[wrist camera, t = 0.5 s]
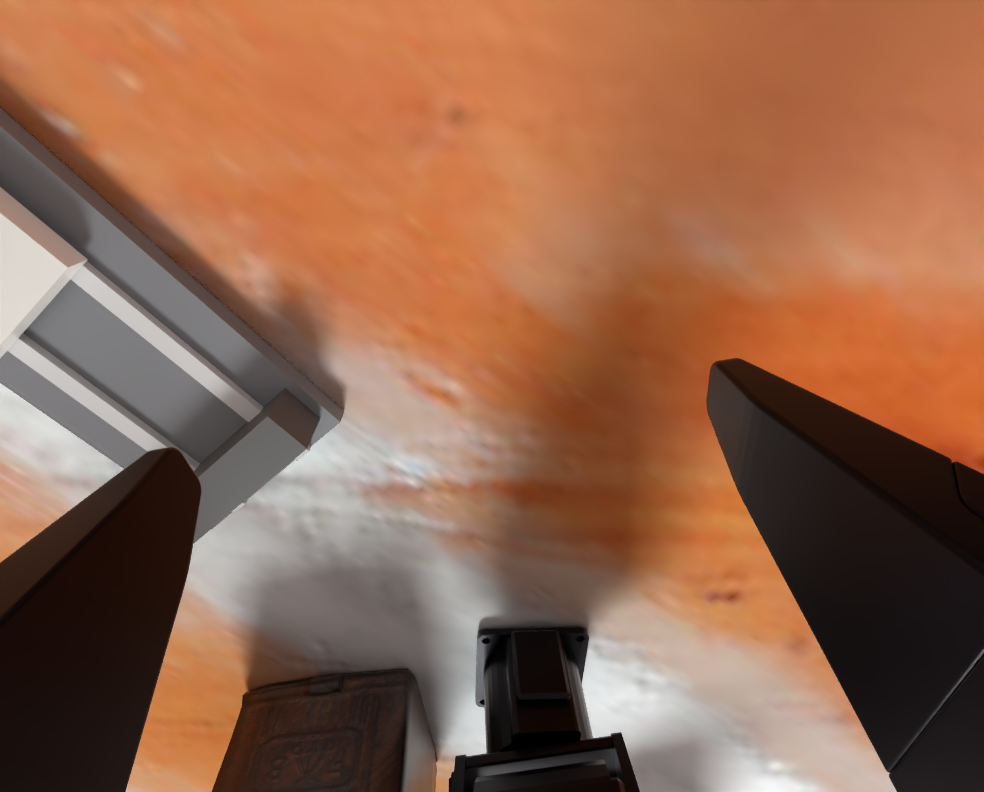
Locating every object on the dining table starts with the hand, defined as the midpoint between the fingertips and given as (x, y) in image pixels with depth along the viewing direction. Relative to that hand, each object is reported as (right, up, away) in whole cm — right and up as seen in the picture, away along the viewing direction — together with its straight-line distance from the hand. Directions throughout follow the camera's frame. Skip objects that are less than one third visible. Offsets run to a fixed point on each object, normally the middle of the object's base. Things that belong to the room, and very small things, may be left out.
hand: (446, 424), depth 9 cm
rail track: (-16, +3, +14) cm, 21 cm away
